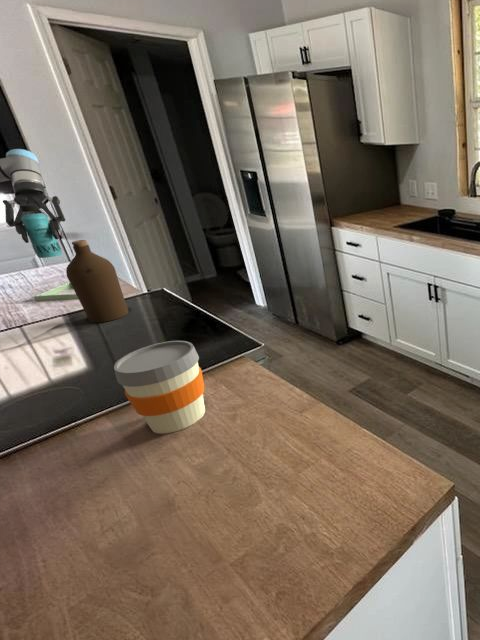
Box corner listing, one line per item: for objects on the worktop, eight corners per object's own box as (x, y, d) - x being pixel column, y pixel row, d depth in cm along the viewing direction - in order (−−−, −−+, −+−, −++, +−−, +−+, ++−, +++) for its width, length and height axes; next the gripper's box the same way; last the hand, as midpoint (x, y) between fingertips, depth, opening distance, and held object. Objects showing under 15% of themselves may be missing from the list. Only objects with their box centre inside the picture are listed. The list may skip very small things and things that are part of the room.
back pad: (36, 302, 143) (33, 296, 142) (71, 288, 156) (68, 282, 155) (80, 300, 144) (77, 294, 144) (110, 286, 157) (107, 280, 156)
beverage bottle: (34, 261, 148) (8, 205, 140) (57, 256, 154) (33, 202, 146) (47, 262, 146) (22, 206, 139) (69, 257, 152) (46, 203, 145)
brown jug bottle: (139, 312, 135) (111, 238, 126) (101, 326, 125) (67, 247, 116) (117, 308, 138) (88, 235, 129) (78, 321, 129) (44, 244, 119)
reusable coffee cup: (223, 416, 85) (202, 354, 80) (145, 450, 77) (116, 382, 71) (206, 392, 93) (186, 334, 88) (134, 420, 84) (107, 357, 79)
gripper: (70, 190, 159) (82, 239, 153) (-7, 196, 147) (4, 249, 141) (62, 177, 153) (75, 228, 147) (-18, 182, 141) (-7, 237, 136)
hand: (40, 238), depth 144 cm, fingers closed on beverage bottle, 6 cm apart
